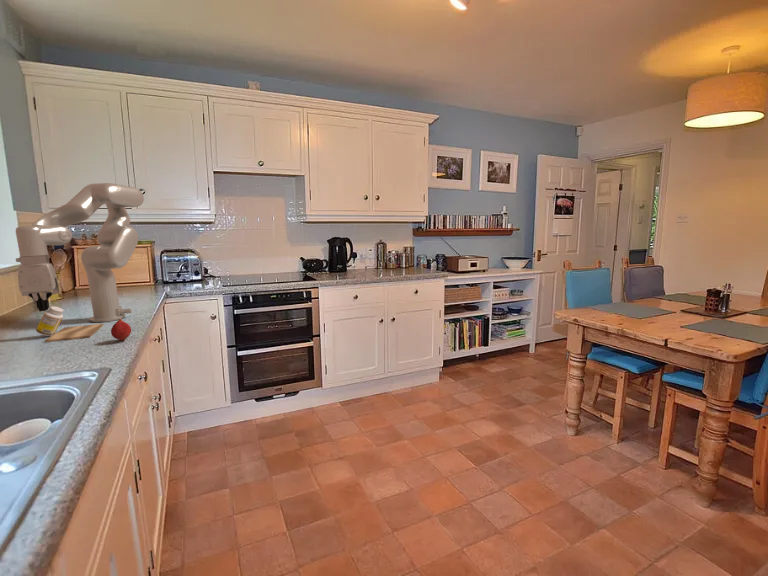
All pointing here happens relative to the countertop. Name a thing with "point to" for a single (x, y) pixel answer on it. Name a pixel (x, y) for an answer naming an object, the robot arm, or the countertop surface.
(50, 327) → the supplement bottle
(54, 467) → the countertop surface
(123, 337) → the onion
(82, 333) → the wooden cutting board
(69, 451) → the countertop surface
